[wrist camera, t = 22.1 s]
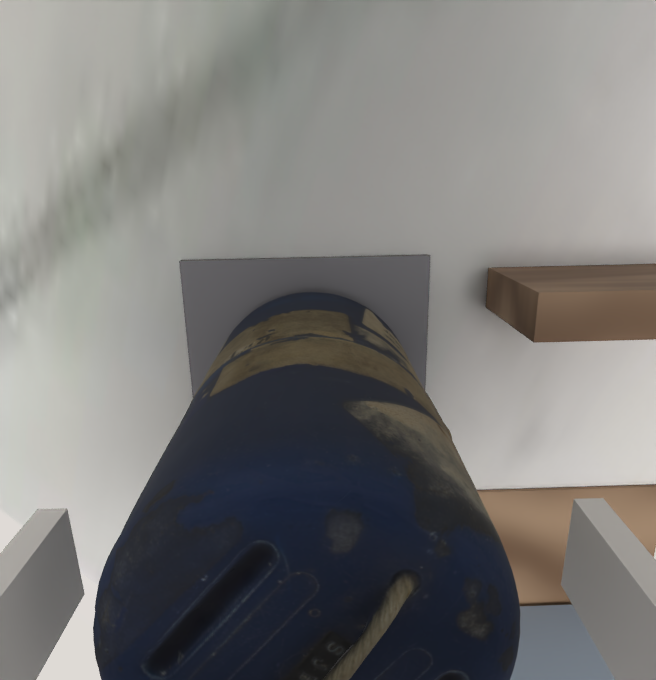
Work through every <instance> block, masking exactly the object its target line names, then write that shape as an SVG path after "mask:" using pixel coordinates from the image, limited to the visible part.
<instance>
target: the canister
mask: <svg viewBox="0 0 656 680" xmlns="http://www.w3.org/2000/svg"><path fill="white" fill-rule="evenodd" d="M95 611H96V612H95V618H94V627H93V631H94V632H93V633H94V646H95V655H96V660H97V664H98V667H99V671H100V676H101V679H102V680H510V678H511V675H512V673H513V670H514V666H515V662H516V658H517V653H518V647H519V639H520V604H519V597H518V592H517V587H516V583H515V579H514V575H513V572H512V569H511V566H510V563H509V560H508V557H507V554H506V552H505V549H504V547H503V545H502V542H501V540H500V537H499V535H498V533H497V531H496V528H495V526H494V524H493V522H492V520H491V518H490V516H489V514H488V512H487V510H486V508H485V506H484V504H483V502H482V500H481V498H480V496H479V494H478V492H477V490H476V488H475V486H474V484H473V482H472V480H471V478H470V476H469V474H468V472H467V470H466V468H465V466H464V464H463V462H462V460H461V458H460V456H459V454H458V451H457V449H456V447H455V445H454V443H453V442H452V436H451V433H450V431H449V429H448V428H447V427H446V425H445V424H444V423H443V421H442V419H441V417H440V415H439V414H438V412H437V410H436V408H435V406H434V405H433V403H432V401H431V399H430V398H429V396H428V395H427V393H426V392H425V390H424V388H423V386H422V384H421V382H420V380H419V379H418V376H417V375H416V373H415V371H414V369H413V367H412V365H411V363H410V361H409V359H408V357H407V355H406V353H405V351H404V349H403V347H402V346H401V344H400V342H399V340H398V339H397V337H396V336H395V334H394V333H393V331H392V330H391V329H390V328H389V326H388V325H387V324H386V323H385V322H384V321H383V320H382V319H381V318H380V317H379V316H377V315H376V314H375V313H374V312H373V311H371V310H370V309H368V308H367V307H365V306H363V305H361V304H360V303H358V302H355V301H353V300H351V299H348V298H346V297H342V296H339V295H335V294H330V293H321V292H302V293H295V294H290V295H286V296H282V297H279V298H277V299H274V300H272V301H269V302H267V303H265V304H263V305H262V306H260V307H258V308H257V309H255V310H254V311H253V312H251V313H250V314H249V315H248V316H246V317H245V318H244V319H243V320H242V321H241V322H240V323H239V324H238V325H237V326H236V327H235V329H234V330H233V331H232V333H231V334H230V335H229V337H228V338H227V340H226V341H225V343H224V345H223V346H222V348H221V350H220V352H219V353H218V355H217V357H216V359H215V360H214V362H213V364H212V365H211V367H210V369H209V370H208V372H207V374H206V376H205V378H204V380H203V382H202V384H201V385H200V387H199V389H198V390H197V392H196V394H195V396H194V398H193V400H192V402H191V404H190V406H189V408H188V410H187V412H186V414H185V416H184V418H183V420H182V421H181V423H180V425H179V427H178V429H177V430H176V432H175V434H174V436H173V437H172V439H171V441H170V443H169V444H168V446H167V448H166V450H165V452H164V453H163V455H162V457H161V459H160V461H159V462H158V464H157V466H156V468H155V470H154V471H153V473H152V475H151V477H150V479H149V481H148V483H147V484H146V486H145V488H144V490H143V492H142V493H141V495H140V497H139V499H138V501H137V503H136V505H135V507H134V509H133V510H132V512H131V514H130V516H129V518H128V520H127V522H126V524H125V526H124V528H123V531H122V533H121V535H120V536H119V538H118V540H117V542H116V543H115V545H114V547H113V549H112V551H111V553H110V555H109V556H108V559H107V561H106V564H105V566H104V569H103V572H102V575H101V578H100V581H99V585H98V591H97V597H96V605H95Z"/></svg>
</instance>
